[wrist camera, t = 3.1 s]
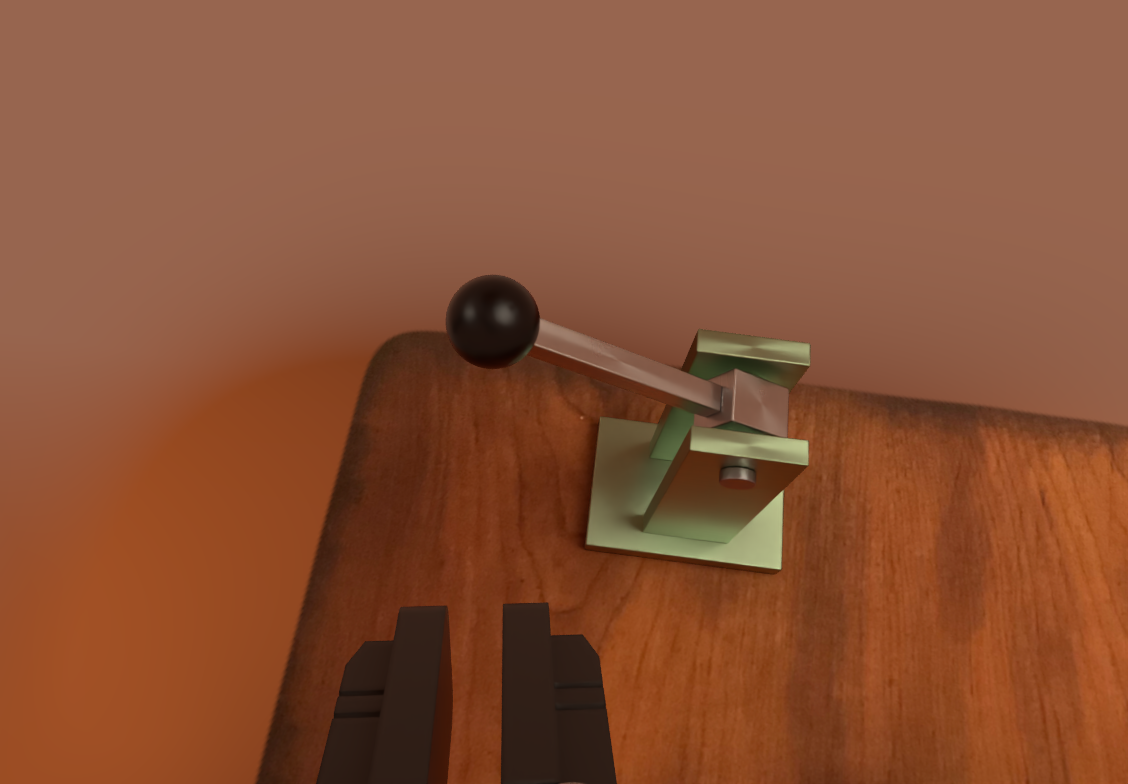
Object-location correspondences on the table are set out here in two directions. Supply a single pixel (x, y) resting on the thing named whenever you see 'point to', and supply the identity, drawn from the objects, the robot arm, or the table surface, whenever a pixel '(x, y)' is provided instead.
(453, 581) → the table surface
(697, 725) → the table surface
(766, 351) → the switch bracket
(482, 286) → the switch lever
